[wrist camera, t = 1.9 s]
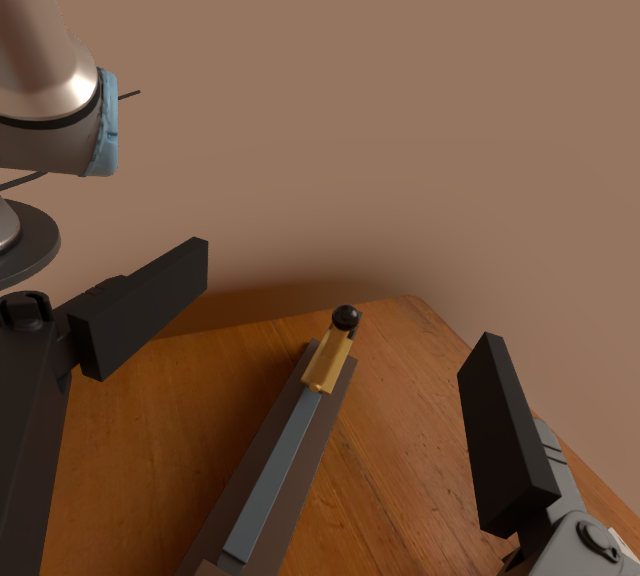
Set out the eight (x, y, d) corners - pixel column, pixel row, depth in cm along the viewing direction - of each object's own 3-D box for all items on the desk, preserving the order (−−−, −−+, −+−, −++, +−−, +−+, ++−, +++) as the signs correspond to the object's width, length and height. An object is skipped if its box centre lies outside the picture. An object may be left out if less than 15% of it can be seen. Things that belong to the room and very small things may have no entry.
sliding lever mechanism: (240, 670, 21) (261, 663, 16) (153, 612, 22) (143, 586, 17) (355, 364, 44) (381, 316, 39) (310, 342, 45) (328, 292, 40)
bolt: (323, 398, 30) (359, 322, 24) (301, 387, 30) (332, 309, 24) (345, 348, 35) (379, 276, 29) (327, 339, 36) (357, 266, 29)
